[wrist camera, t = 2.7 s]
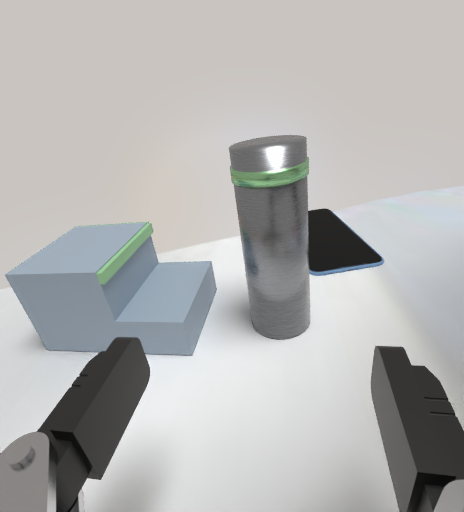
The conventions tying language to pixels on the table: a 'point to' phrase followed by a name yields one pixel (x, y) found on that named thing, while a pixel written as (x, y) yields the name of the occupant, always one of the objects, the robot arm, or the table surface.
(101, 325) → the blue-grey stepped block
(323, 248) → the smartphone
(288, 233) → the steel thermos flask
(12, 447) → the robot arm
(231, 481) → the table surface
